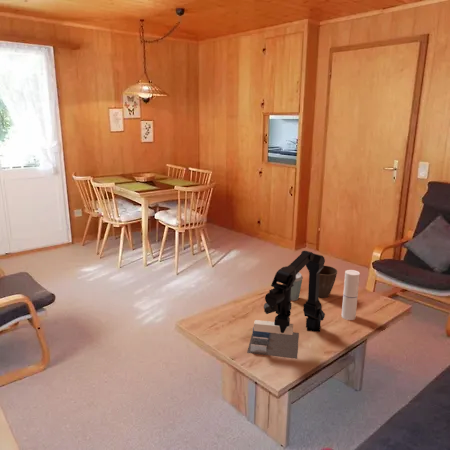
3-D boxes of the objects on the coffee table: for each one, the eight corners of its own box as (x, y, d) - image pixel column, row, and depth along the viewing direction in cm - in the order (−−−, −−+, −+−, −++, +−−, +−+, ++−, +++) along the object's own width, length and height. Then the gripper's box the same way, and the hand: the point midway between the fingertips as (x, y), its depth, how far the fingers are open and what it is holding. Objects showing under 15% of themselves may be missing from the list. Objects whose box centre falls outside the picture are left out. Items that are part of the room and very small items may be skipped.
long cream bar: (292, 330, 182) (293, 323, 181) (292, 335, 179) (293, 327, 178) (254, 326, 185) (255, 319, 184) (253, 330, 182) (253, 323, 181)
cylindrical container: (340, 318, 215) (343, 273, 208) (343, 312, 221) (346, 268, 214) (354, 321, 211) (358, 276, 205) (356, 315, 217) (361, 271, 211)
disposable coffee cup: (301, 303, 231) (302, 278, 227) (282, 301, 233) (283, 277, 229) (301, 295, 241) (303, 271, 237) (283, 293, 243) (284, 270, 239)
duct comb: (298, 333, 199) (299, 326, 198) (297, 359, 178) (297, 351, 177) (253, 329, 203) (253, 321, 202) (246, 353, 183) (247, 345, 182)
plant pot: (316, 287, 251) (318, 263, 247) (339, 294, 242) (341, 269, 238) (304, 296, 240) (306, 270, 236) (328, 303, 231) (330, 276, 227)
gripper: (267, 287, 187) (266, 318, 191) (262, 306, 170) (261, 339, 174) (292, 289, 185) (290, 321, 189) (290, 308, 167) (288, 342, 172)
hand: (282, 330), depth 181 cm, fingers closed on long cream bar, 3 cm apart
